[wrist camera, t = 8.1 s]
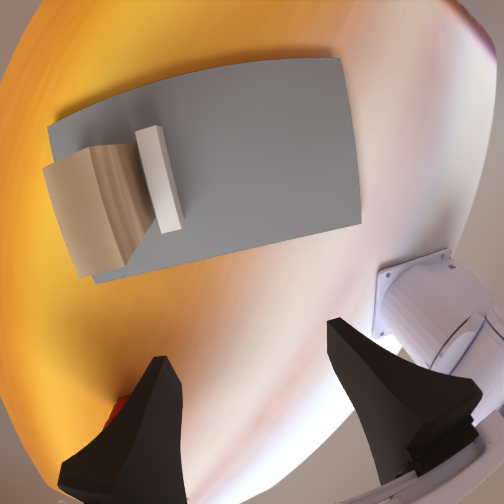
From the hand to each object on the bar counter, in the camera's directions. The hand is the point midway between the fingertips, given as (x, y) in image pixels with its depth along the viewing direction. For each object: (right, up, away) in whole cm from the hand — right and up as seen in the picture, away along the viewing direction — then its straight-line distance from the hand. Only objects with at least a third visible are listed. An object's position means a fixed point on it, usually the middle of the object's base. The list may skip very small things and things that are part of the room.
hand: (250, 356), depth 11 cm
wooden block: (-8, +9, +4) cm, 12 cm away
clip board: (-3, +10, +5) cm, 12 cm away
